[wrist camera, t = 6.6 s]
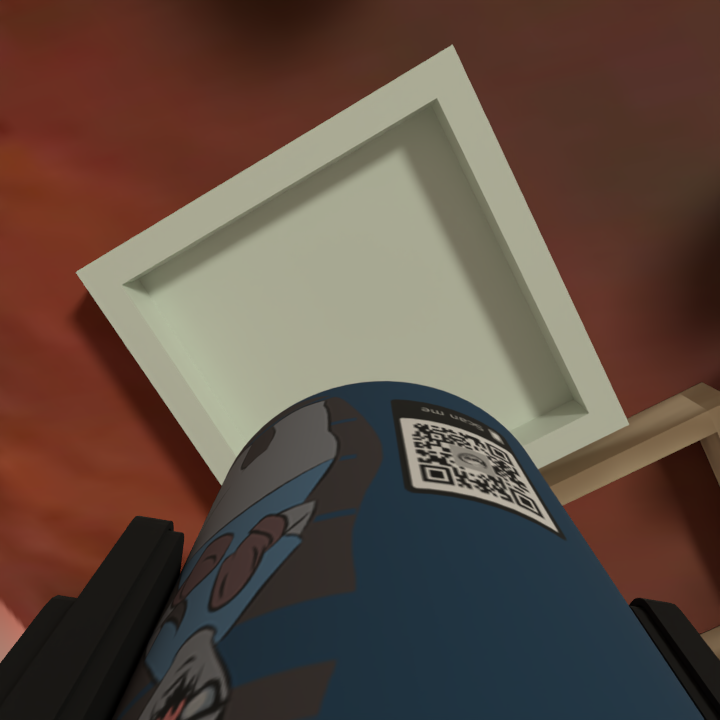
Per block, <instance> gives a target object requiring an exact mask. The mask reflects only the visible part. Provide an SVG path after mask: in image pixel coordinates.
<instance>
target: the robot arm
mask: <svg viewBox="0 0 720 720" xmlns="http://www.w3.org/2000/svg"><path fill="white" fill-rule="evenodd" d="M173 530H174V526H173V522H172V521H167V520H161V519H155V518H149V517H143V516H136V517H135V518H134V519H133V520H132V521H131V523H130V524H129V526H128V527H127V528H126V530H125V531H124V533H123V534H122V536H121V537H120V538H119V540H118V541H117V543H116V544H115V545H114V547H113V548H112V550H111V551H110V553H109V554H108V555H107V557H106V558H105V560H104V561H103V562H102V564H101V565H100V567H99V568H98V570H97V571H96V572H95V574H94V575H93V577H92V578H91V579H90V581H89V582H88V584H87V585H86V587H85V588H84V589H83V591H82V592H81V594H80V595H79V596H78V598H73V597H67V596H60V595H57V596H55V597H53V598H52V599H51V600H50V601H49V602H48V603H47V604H46V605H45V606H44V607H43V609H42V610H41V611H40V612H39V614H38V615H37V616H36V618H35V619H34V620H33V621H32V623H31V624H30V625H29V627H28V628H27V629H26V631H25V632H24V633H23V634H22V636H21V637H20V638H19V640H18V641H17V642H16V644H15V645H14V646H13V647H12V649H11V650H10V651H9V652H8V654H7V655H6V657H5V658H4V659H3V660H2V662H1V663H0V720H112V717H113V715H114V713H115V711H116V709H117V707H118V705H119V703H120V700H121V698H122V696H123V694H124V692H125V690H126V688H127V686H128V684H129V681H130V679H131V677H132V675H133V673H134V671H135V669H136V667H137V664H138V662H139V660H140V658H141V656H142V654H143V652H144V650H145V647H146V645H147V643H148V641H149V639H150V637H151V635H152V633H153V630H154V628H155V626H156V624H157V622H158V620H159V618H160V616H161V614H162V611H163V609H164V607H165V605H166V603H167V601H168V599H169V597H170V594H171V592H172V590H173V588H174V586H175V584H176V582H177V580H178V577H179V575H180V569H181V561H182V552H183V544H184V534H183V533H181V532H175V531H173ZM629 607H630V608H631V610H632V611H633V613H634V614H635V616H636V617H637V619H638V620H639V622H640V624H641V625H642V627H643V628H644V630H645V631H646V633H647V634H648V636H649V637H650V639H651V640H652V642H653V643H654V645H655V646H656V648H657V649H658V651H659V652H660V654H661V655H662V657H663V658H664V660H665V661H666V663H667V664H668V666H669V667H670V669H671V670H672V672H673V673H674V675H675V676H676V678H677V679H678V681H679V682H680V684H681V685H682V687H683V688H684V690H685V691H686V693H687V694H688V696H689V697H690V699H691V700H692V702H693V703H694V705H695V706H696V708H697V709H698V711H699V712H700V714H701V715H702V717H703V718H704V720H720V660H719V659H718V657H717V656H716V655H715V653H714V652H713V651H712V650H711V648H710V647H709V646H708V645H707V643H706V642H705V641H704V639H703V638H702V637H701V636H700V634H699V633H698V632H697V631H696V629H695V628H694V627H693V625H692V624H691V623H690V622H689V620H688V619H687V618H686V616H685V615H684V614H683V613H682V611H681V610H680V609H679V608H678V607H677V606H676V605H675V604H672V603H668V602H661V601H655V600H649V599H643V598H636V599H634V600H633V601H632V602H631V603H630V605H629Z"/></svg>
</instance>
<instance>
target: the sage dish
mask: <svg viewBox="0 0 720 720" xmlns="http://www.w3.org/2000/svg"><path fill="white" fill-rule="evenodd" d="M76 273H77V275H78V276H79V278H80V279H81V281H82V282H83V284H84V285H85V287H86V288H87V290H88V291H89V292H90V294H91V295H92V297H93V298H94V300H95V301H96V303H97V304H98V306H99V307H100V309H101V310H102V312H103V313H104V314H105V316H106V317H107V319H108V320H109V322H110V323H111V325H112V326H113V328H114V329H115V331H116V332H117V333H118V335H119V336H120V338H121V339H122V341H123V342H124V344H125V345H126V347H127V348H128V350H129V351H130V352H131V354H132V355H133V357H134V358H135V360H136V361H137V363H138V364H139V366H140V367H141V369H142V370H143V371H144V373H145V374H146V376H147V377H148V379H149V380H150V382H151V383H152V385H153V386H154V388H155V389H156V390H157V392H158V393H159V395H160V396H161V398H162V399H163V401H164V402H165V404H166V405H167V407H168V408H169V410H170V411H171V412H172V414H173V415H174V417H175V418H176V420H177V421H178V423H179V424H180V426H181V427H182V429H183V430H184V431H185V433H186V434H187V436H188V437H189V439H190V440H191V442H192V443H193V445H194V446H195V448H196V449H197V450H198V452H199V453H200V455H201V456H202V458H203V459H204V461H205V462H206V464H207V465H208V467H209V468H210V469H211V471H212V472H213V474H214V475H215V477H216V478H217V480H218V481H219V483H220V484H221V486H222V484H223V482H224V480H225V478H226V476H227V474H228V472H229V469H230V468H231V466H232V464H233V462H234V461H235V459H236V457H237V456H238V455H239V453H240V452H241V450H242V449H243V448H244V446H245V445H246V444H247V443H248V442H249V440H250V439H251V438H252V437H253V436H254V435H255V434H256V433H257V432H258V431H259V430H260V429H261V428H262V427H263V426H264V425H265V424H267V423H268V422H269V421H270V420H271V419H272V418H274V417H275V416H277V415H278V414H279V413H281V412H282V411H284V410H285V409H287V408H289V407H290V406H292V405H294V404H295V403H297V402H299V401H301V400H303V399H305V398H307V397H310V396H312V395H315V394H317V393H320V392H323V391H326V390H329V389H332V388H335V387H340V386H344V385H348V384H354V383H360V382H371V381H396V382H407V383H414V384H420V385H424V386H429V387H433V388H436V389H439V390H443V391H446V392H448V393H451V394H453V395H456V396H458V397H460V398H462V399H465V400H467V401H469V402H471V403H472V404H474V405H476V406H477V407H479V408H481V409H482V410H484V411H485V412H487V413H488V414H489V415H491V416H492V417H494V418H495V419H496V420H497V421H498V422H500V423H501V424H502V425H503V426H504V427H505V428H506V429H507V430H508V431H509V432H510V433H511V434H512V435H513V436H514V437H515V438H516V439H517V440H518V442H519V443H520V444H521V445H522V447H523V448H524V449H525V451H526V452H527V453H528V455H529V456H530V458H531V459H532V461H533V462H534V464H535V465H536V467H537V468H538V469H539V468H541V467H544V466H546V465H548V464H550V463H552V462H554V461H556V460H558V459H560V458H562V457H564V456H566V455H568V454H570V453H572V452H574V451H576V450H578V449H580V448H582V447H585V446H587V445H589V444H591V443H593V442H595V441H597V440H599V439H601V438H603V437H605V436H607V435H609V434H611V433H613V432H615V431H617V430H619V429H621V428H623V427H625V426H628V425H629V423H628V421H627V418H626V416H625V414H624V412H623V410H622V408H621V405H620V403H619V401H618V399H617V397H616V395H615V393H614V390H613V388H612V386H611V384H610V382H609V380H608V378H607V375H606V373H605V371H604V369H603V367H602V365H601V362H600V360H599V358H598V356H597V354H596V352H595V350H594V347H593V345H592V343H591V341H590V339H589V337H588V335H587V332H586V330H585V328H584V326H583V324H582V322H581V319H580V317H579V315H578V313H577V311H576V309H575V307H574V304H573V302H572V300H571V298H570V296H569V294H568V292H567V289H566V287H565V285H564V283H563V281H562V279H561V277H560V274H559V272H558V270H557V268H556V266H555V264H554V261H553V259H552V257H551V255H550V253H549V251H548V249H547V246H546V244H545V242H544V240H543V238H542V236H541V234H540V231H539V229H538V227H537V225H536V223H535V221H534V218H533V216H532V214H531V212H530V210H529V208H528V206H527V203H526V201H525V199H524V197H523V195H522V193H521V191H520V188H519V186H518V184H517V182H516V180H515V178H514V175H513V173H512V171H511V169H510V167H509V165H508V163H507V160H506V158H505V156H504V154H503V152H502V150H501V148H500V145H499V143H498V141H497V139H496V137H495V135H494V133H493V130H492V128H491V126H490V124H489V122H488V120H487V117H486V115H485V113H484V111H483V109H482V107H481V105H480V102H479V100H478V98H477V96H476V94H475V92H474V90H473V87H472V85H471V83H470V81H469V79H468V77H467V74H466V72H465V70H464V68H463V66H462V64H461V62H460V59H459V57H458V55H457V53H456V51H455V49H454V47H453V45H451V46H450V47H448V48H446V49H445V50H443V51H441V52H440V53H438V54H436V55H435V56H433V57H431V58H430V59H428V60H426V61H425V62H423V63H421V64H420V65H418V66H416V67H415V68H413V69H411V70H410V71H408V72H406V73H405V74H403V75H402V76H400V77H398V78H397V79H395V80H393V81H392V82H390V83H388V84H387V85H385V86H383V87H382V88H380V89H378V90H377V91H375V92H373V93H372V94H370V95H368V96H367V97H365V98H363V99H362V100H360V101H358V102H357V103H355V104H353V105H352V106H350V107H348V108H347V109H345V110H344V111H342V112H340V113H339V114H337V115H335V116H334V117H332V118H330V119H329V120H327V121H325V122H324V123H322V124H320V125H319V126H317V127H315V128H314V129H312V130H310V131H309V132H307V133H305V134H304V135H302V136H300V137H299V138H297V139H295V140H294V141H292V142H290V143H289V144H287V145H286V146H284V147H282V148H281V149H279V150H277V151H276V152H274V153H272V154H271V155H269V156H267V157H266V158H264V159H262V160H261V161H259V162H257V163H256V164H254V165H252V166H251V167H249V168H247V169H246V170H244V171H242V172H241V173H239V174H237V175H236V176H234V177H232V178H231V179H229V180H228V181H226V182H224V183H223V184H221V185H219V186H218V187H216V188H214V189H213V190H211V191H209V192H208V193H206V194H204V195H203V196H201V197H199V198H198V199H196V200H194V201H193V202H191V203H189V204H188V205H186V206H184V207H183V208H181V209H179V210H178V211H176V212H174V213H173V214H171V215H170V216H168V217H166V218H165V219H163V220H161V221H160V222H158V223H156V224H155V225H153V226H151V227H150V228H148V229H146V230H145V231H143V232H141V233H140V234H138V235H136V236H135V237H133V238H131V239H130V240H128V241H126V242H125V243H123V244H121V245H120V246H118V247H116V248H115V249H113V250H112V251H110V252H108V253H107V254H105V255H103V256H102V257H100V258H98V259H97V260H95V261H93V262H92V263H90V264H88V265H87V266H85V267H83V268H82V269H80V270H78V271H77V272H76Z"/></svg>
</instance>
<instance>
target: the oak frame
mask: <svg viewBox="0 0 720 720" xmlns="http://www.w3.org/2000/svg"><path fill="white" fill-rule="evenodd" d="M627 421H628V423H629V425H628V426H625V427H623V428H621V429H619V430H617V431H615V432H613V433H611V434H609V435H607V436H605V437H603V438H601V439H599V440H597V441H595V442H593V443H591V444H589V445H587V446H585V447H582V448H580V449H578V450H576V451H574V452H572V453H570V454H568V455H566V456H564V457H562V458H560V459H558V460H556V461H554V462H552V463H550V464H548V465H546V466H544V467H541V468H539V469H538V470H539V472H540V473H541V475H542V476H543V478H544V479H545V481H546V482H547V484H548V485H549V487H550V488H551V490H552V491H553V493H554V494H555V496H556V497H557V499H558V500H559V502H560V503H561V505H565V504H567V503H569V502H571V501H573V500H575V499H577V498H579V497H581V496H583V495H586V494H588V493H590V492H592V491H594V490H596V489H598V488H600V487H602V486H604V485H607V484H609V483H611V482H613V481H615V480H617V479H619V478H621V477H623V476H625V475H628V474H630V473H632V472H634V471H636V470H638V469H640V468H642V467H644V466H646V465H648V464H651V463H653V462H655V461H657V460H659V459H661V458H663V457H665V456H667V455H669V454H672V453H674V452H676V451H678V450H680V449H682V448H684V447H686V446H688V445H690V444H693V443H695V442H697V441H699V440H700V442H701V444H702V447H703V449H704V451H705V454H706V456H707V458H708V460H709V463H710V465H711V467H712V470H713V472H714V474H715V477H716V479H717V481H718V484H719V486H720V391H718V390H716V389H714V388H712V387H710V386H708V385H706V384H704V383H703V382H701V383H699V384H697V385H695V386H693V387H691V388H689V389H687V390H685V391H683V392H681V393H679V394H677V395H675V396H673V397H671V398H669V399H667V400H665V401H663V402H661V403H659V404H656V405H654V406H652V407H650V408H648V409H646V410H644V411H642V412H640V413H638V414H636V415H634V416H632V417H630V418H628V419H627ZM700 636H701V637H702V638H703V639H704V641H705V642H706V643H707V645H708V646H709V647H710V648H711V650H712V651H713V652H714V653H715V655H716V656H717V657H718V659H719V660H720V626H719V627H717V628H714V629H712V630H710V631H707V632H705V633H703V634H700Z"/></svg>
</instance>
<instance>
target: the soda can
mask: <svg viewBox="0 0 720 720" xmlns="http://www.w3.org/2000/svg"><path fill="white" fill-rule="evenodd" d="M112 720H704V718H703V717H702V715H701V714H700V712H699V711H698V709H697V708H696V706H695V705H694V703H693V702H692V700H691V699H690V697H689V696H688V694H687V693H686V691H685V690H684V688H683V687H682V685H681V684H680V682H679V681H678V679H677V678H676V676H675V675H674V673H673V672H672V670H671V669H670V667H669V666H668V664H667V663H666V661H665V660H664V658H663V657H662V655H661V654H660V652H659V651H658V649H657V648H656V646H655V645H654V643H653V642H652V640H651V639H650V637H649V636H648V634H647V633H646V631H645V630H644V628H643V627H642V625H641V624H640V622H639V620H638V619H637V617H636V616H635V614H634V613H633V611H632V610H631V608H630V607H629V605H628V604H627V602H626V601H625V599H624V598H623V596H622V595H621V593H620V592H619V590H618V589H617V587H616V586H615V584H614V583H613V581H612V580H611V578H610V577H609V575H608V574H607V572H606V571H605V569H604V568H603V566H602V565H601V563H600V562H599V560H598V559H597V557H596V556H595V554H594V553H593V551H592V550H591V548H590V547H589V545H588V544H587V542H586V541H585V539H584V538H583V536H582V535H581V533H580V532H579V530H578V529H577V527H576V526H575V524H574V523H573V521H572V520H571V518H570V517H569V515H568V514H567V512H566V511H565V509H564V508H563V506H562V505H561V503H560V502H559V500H558V499H557V497H556V496H555V494H554V493H553V491H552V490H551V488H550V487H549V485H548V484H547V482H546V481H545V479H544V478H543V476H542V475H541V473H540V472H539V470H538V468H537V467H536V465H535V464H534V462H533V461H532V459H531V458H530V456H529V455H528V453H527V452H526V451H525V449H524V448H523V447H522V445H521V444H520V443H519V442H518V440H517V439H516V438H515V437H514V436H513V435H512V434H511V433H510V432H509V431H508V430H507V429H506V428H505V427H504V426H503V425H502V424H501V423H500V422H498V421H497V420H496V419H495V418H494V417H492V416H491V415H489V414H488V413H487V412H485V411H484V410H482V409H481V408H479V407H477V406H476V405H474V404H472V403H471V402H469V401H467V400H465V399H462V398H460V397H458V396H456V395H453V394H451V393H448V392H446V391H443V390H439V389H436V388H433V387H429V386H424V385H420V384H414V383H407V382H396V381H371V382H360V383H354V384H348V385H344V386H340V387H335V388H332V389H329V390H326V391H323V392H320V393H317V394H315V395H312V396H310V397H307V398H305V399H303V400H301V401H299V402H297V403H295V404H294V405H292V406H290V407H289V408H287V409H285V410H284V411H282V412H281V413H279V414H278V415H277V416H275V417H274V418H272V419H271V420H270V421H269V422H268V423H267V424H265V425H264V426H263V427H262V428H261V429H260V430H259V431H258V432H257V433H256V434H255V435H254V436H253V437H252V438H251V439H250V440H249V442H248V443H247V444H246V445H245V446H244V448H243V449H242V450H241V452H240V453H239V455H238V456H237V457H236V459H235V461H234V462H233V464H232V466H231V468H230V469H229V472H228V474H227V476H226V478H225V480H224V482H223V484H222V486H221V488H220V491H219V493H218V495H217V497H216V499H215V501H214V503H213V505H212V507H211V510H210V512H209V514H208V516H207V518H206V520H205V522H204V524H203V527H202V529H201V531H200V533H199V535H198V537H197V539H196V541H195V544H194V546H193V548H192V550H191V552H190V554H189V556H188V558H187V561H186V563H185V565H184V567H183V569H182V571H181V573H180V575H179V577H178V580H177V582H176V584H175V586H174V588H173V590H172V592H171V594H170V597H169V599H168V601H167V603H166V605H165V607H164V609H163V611H162V614H161V616H160V618H159V620H158V622H157V624H156V626H155V628H154V630H153V633H152V635H151V637H150V639H149V641H148V643H147V645H146V647H145V650H144V652H143V654H142V656H141V658H140V660H139V662H138V664H137V667H136V669H135V671H134V673H133V675H132V677H131V679H130V681H129V684H128V686H127V688H126V690H125V692H124V694H123V696H122V698H121V700H120V703H119V705H118V707H117V709H116V711H115V713H114V715H113V717H112Z"/></svg>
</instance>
